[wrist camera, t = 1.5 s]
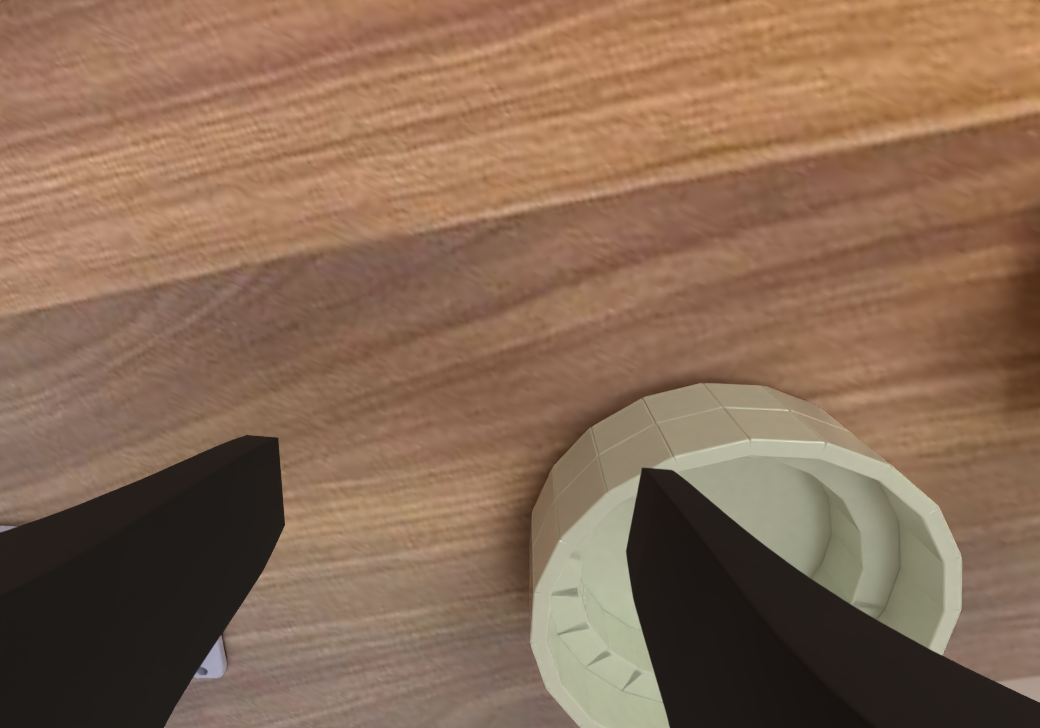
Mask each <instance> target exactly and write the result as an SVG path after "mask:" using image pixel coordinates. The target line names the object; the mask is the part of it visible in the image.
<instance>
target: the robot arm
mask: <svg viewBox="0 0 1040 728" xmlns="http://www.w3.org/2000/svg"><path fill="white" fill-rule="evenodd" d="M284 526H285V520H284V507H283V494H282V481H281V469H280V456H279V443H278V438H275V437H263V436H251V435H246V436H243V437H240V438H237V439H234V440H231V441H229V442H226V443H224V444H221V445H219V446H216V447H214V448H212V449H209V450H207V451H205V452H202V453H200V454H198V455H196V456H193V457H191V458H189V459H187V460H184V461H182V462H180V463H177V464H175V465H173V466H171V467H168V468H166V469H164V470H162V471H159V472H157V473H155V474H152V475H150V476H148V477H146V478H143V479H141V480H139V481H136V482H134V483H131V484H129V485H126V486H124V487H121V488H119V489H117V490H114V491H112V492H109V493H107V494H104V495H102V496H99V497H97V498H94V499H92V500H89V501H87V502H85V503H82V504H80V505H77V506H75V507H72V508H69V509H67V510H64V511H61V512H59V513H56V514H53V515H50V516H47V517H45V518H42V519H39V520H36V521H33V522H30V523H27V524H24V525H21V526H0V728H164V726H165V724H166V723H167V721H168V719H169V717H170V715H171V713H172V711H173V710H174V708H175V706H176V704H177V703H178V701H179V699H180V698H181V696H182V694H183V693H184V691H185V690H186V688H187V686H188V685H189V683H190V681H191V680H192V678H209V679H216V678H220V677H222V676H223V674H224V673H225V671H226V669H227V662H226V657H225V651H224V646H223V641H222V636H221V634H222V633H223V631H224V630H225V628H226V627H227V625H228V624H229V622H230V621H231V619H232V618H233V616H234V615H235V613H236V612H237V610H238V609H239V607H240V606H241V604H242V603H243V601H244V600H245V598H246V596H247V595H248V593H249V592H250V590H251V589H252V587H253V586H254V584H255V583H256V581H257V579H258V578H259V576H260V575H261V573H262V571H263V570H264V568H265V566H266V564H267V562H268V560H269V558H270V556H271V554H272V552H273V550H274V548H275V545H276V543H277V541H278V539H279V537H280V534H281V532H282V530H283V528H284ZM626 556H627V563H628V570H629V577H630V583H631V589H632V595H633V600H634V604H635V608H636V611H637V615H638V618H639V622H640V625H641V629H642V632H643V636H644V639H645V643H646V646H647V650H648V653H649V656H650V660H651V663H652V667H653V670H654V674H655V677H656V680H657V684H658V687H659V691H660V694H661V698H662V701H663V704H664V708H665V711H666V715H667V719H668V723H669V727H670V728H1040V703H1039V702H1037V701H1035V700H1033V699H1030V698H1028V697H1026V696H1024V695H1022V694H1020V693H1018V692H1016V691H1014V690H1011V689H1009V688H1007V687H1005V686H1003V685H1001V684H999V683H997V682H995V681H993V680H991V679H988V678H986V677H984V676H982V675H980V674H978V673H976V672H974V671H972V670H970V669H968V668H966V667H964V666H962V665H960V664H958V663H956V662H954V661H952V660H950V659H948V658H946V657H944V656H942V655H940V654H938V653H936V652H934V651H932V650H930V649H928V648H927V647H925V646H923V645H921V644H919V643H917V642H916V641H914V640H912V639H910V638H908V637H907V636H905V635H903V634H901V633H899V632H898V631H896V630H894V629H892V628H890V627H889V626H887V625H885V624H883V623H881V622H880V621H878V620H876V619H875V618H873V617H871V616H869V615H868V614H866V613H864V612H863V611H861V610H859V609H858V608H856V607H854V606H853V605H851V604H850V603H848V602H846V601H845V600H843V599H842V598H840V597H839V596H837V595H836V594H834V593H832V592H831V591H829V590H828V589H826V588H825V587H823V586H822V585H820V584H818V583H817V582H815V581H814V580H812V579H811V578H809V577H808V576H807V575H805V574H804V573H802V572H801V571H799V570H798V569H796V568H795V567H794V566H792V565H791V564H790V563H788V562H787V561H786V560H784V559H783V558H781V557H780V556H779V555H777V554H776V553H775V552H773V551H772V550H771V549H769V548H768V547H767V546H765V545H764V544H763V543H761V542H760V541H759V540H758V539H756V538H755V537H754V536H752V535H751V534H750V533H749V532H747V531H746V530H745V529H744V528H742V527H741V526H740V525H739V524H738V523H736V522H735V521H734V520H733V519H732V518H730V517H729V516H728V515H727V514H726V513H724V512H723V511H722V510H721V509H720V508H718V507H717V506H716V505H715V504H714V503H712V502H711V501H710V500H709V499H708V498H707V497H705V496H704V495H703V494H702V493H701V492H700V491H698V490H697V489H696V488H695V487H694V486H692V485H691V484H690V483H689V482H688V481H686V480H685V479H684V478H683V477H681V476H680V475H679V474H678V473H676V472H675V471H673V470H668V469H656V468H643V467H642V470H641V475H640V480H639V485H638V491H637V496H636V501H635V506H634V511H633V517H632V522H631V527H630V532H629V538H628V543H627V548H626Z"/></svg>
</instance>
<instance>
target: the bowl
mask: <svg viewBox="0 0 1040 728" xmlns="http://www.w3.org/2000/svg"><path fill="white" fill-rule="evenodd" d="M642 467H643V468H656V469H668V470H673V471H675V472H676V473H678V474H679V475H680V476H681V477H683V478H684V479H685V480H686V481H688V482H689V483H690V484H691V485H692V486H694V487H695V488H696V489H697V490H698V491H700V492H701V493H702V494H703V495H704V496H705V497H707V498H708V499H709V500H710V501H711V502H712V503H714V504H715V505H716V506H717V507H718V508H720V509H721V510H722V511H723V512H724V513H726V514H727V515H728V516H729V517H730V518H732V519H733V520H734V521H735V522H736V523H738V524H739V525H740V526H741V527H742V528H744V529H745V530H746V531H747V532H749V533H750V534H751V535H752V536H754V537H755V538H756V539H758V540H759V541H760V542H761V543H763V544H764V545H765V546H767V547H768V548H769V549H771V550H772V551H773V552H775V553H776V554H777V555H779V556H780V557H781V558H783V559H784V560H786V561H787V562H788V563H790V564H791V565H792V566H794V567H795V568H796V569H798V570H799V571H801V572H802V573H804V574H805V575H807V576H808V577H809V578H811V579H812V580H814V581H815V582H817V583H818V584H820V585H822V586H823V587H825V588H826V589H828V590H829V591H831V592H832V593H834V594H836V595H837V596H839V597H840V598H842V599H843V600H845V601H846V602H848V603H850V604H851V605H853V606H854V607H856V608H858V609H859V610H861V611H863V612H864V613H866V614H868V615H869V616H871V617H873V618H875V619H876V620H878V621H880V622H881V623H883V624H885V625H887V626H889V627H890V628H892V629H894V630H896V631H898V632H899V633H901V634H903V635H905V636H907V637H908V638H910V639H912V640H914V641H916V642H917V643H919V644H921V645H923V646H925V647H927V648H928V649H930V650H932V651H934V652H936V653H938V654H940V655H943V653H944V650H945V648H946V646H947V643H948V641H949V639H950V636H951V634H952V632H953V629H954V627H955V624H956V622H957V620H958V617H959V615H960V613H961V609H962V558H961V553H960V551H959V549H958V547H957V545H956V543H955V540H954V538H953V536H952V534H951V532H950V530H949V527H948V525H947V523H946V521H945V519H944V516H943V514H942V512H941V510H940V508H939V507H938V505H937V504H936V503H935V502H934V501H933V500H931V499H930V498H929V497H928V496H927V495H926V494H925V493H923V492H922V491H921V490H920V489H919V488H918V487H916V486H915V485H914V484H913V483H912V482H911V481H909V480H908V479H907V478H906V477H905V476H904V475H903V474H901V473H900V472H899V471H898V470H897V469H896V468H894V467H893V466H892V465H891V464H890V463H888V462H887V461H886V460H885V459H883V458H882V457H881V456H880V455H878V454H877V453H876V452H875V451H873V450H872V449H871V448H870V447H868V446H867V445H866V444H865V443H863V442H862V441H861V440H860V439H858V438H857V437H856V436H855V435H853V434H852V433H851V432H850V431H849V430H847V429H846V428H845V427H844V426H842V425H841V424H840V423H839V422H837V421H836V420H835V419H834V418H832V417H831V416H830V415H829V414H827V413H826V412H825V411H824V410H822V409H821V408H820V407H819V406H817V405H815V404H813V403H810V402H807V401H805V400H802V399H799V398H796V397H794V396H791V395H788V394H786V393H783V392H780V391H778V390H775V389H772V388H770V387H767V386H759V385H737V384H715V383H704V384H703V383H699V384H694V385H690V386H686V387H682V388H678V389H674V390H670V391H666V392H662V393H658V394H653V395H649V396H645V397H643V399H642V398H641V399H639V400H637V401H635V402H634V403H632V404H630V405H628V406H627V407H625V408H623V409H621V410H620V411H618V412H616V413H614V414H613V415H611V416H609V417H607V418H606V419H604V420H602V421H600V422H599V423H597V424H595V425H593V426H592V427H590V428H589V429H588V430H587V431H586V432H585V433H584V434H583V435H582V436H581V437H580V438H579V439H578V440H577V441H576V442H575V443H574V445H573V446H572V447H571V448H570V449H569V450H568V451H567V452H566V453H565V454H564V455H563V456H562V457H561V458H560V459H559V460H558V461H557V463H556V464H555V465H554V466H553V468H552V469H551V471H550V474H549V476H548V478H547V480H546V482H545V485H544V487H543V489H542V491H541V493H540V495H539V498H538V500H537V502H536V504H535V506H534V509H533V511H532V514H531V530H530V546H529V617H530V646H531V648H532V651H533V654H534V657H535V660H536V662H537V665H538V668H539V671H540V674H541V677H542V679H543V682H544V685H545V688H546V689H547V691H548V692H549V693H550V694H551V695H552V697H553V698H554V699H555V700H556V701H557V702H558V703H559V705H560V706H561V707H562V708H563V709H564V710H565V711H566V713H567V714H568V715H569V716H570V717H571V718H572V719H573V721H574V722H575V723H576V724H577V725H578V726H580V728H670V727H669V723H668V719H667V715H666V711H665V708H664V704H663V701H662V698H661V694H660V691H659V687H658V684H657V680H656V677H655V674H654V670H653V667H652V663H651V660H650V656H649V653H648V650H647V646H646V643H645V639H644V636H643V632H642V629H641V625H640V622H639V618H638V615H637V611H636V608H635V604H634V600H633V595H632V589H631V583H630V577H629V570H628V563H627V556H626V548H627V543H628V538H629V532H630V527H631V522H632V517H633V511H634V506H635V501H636V496H637V491H638V485H639V480H640V475H641V470H642Z"/></svg>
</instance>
